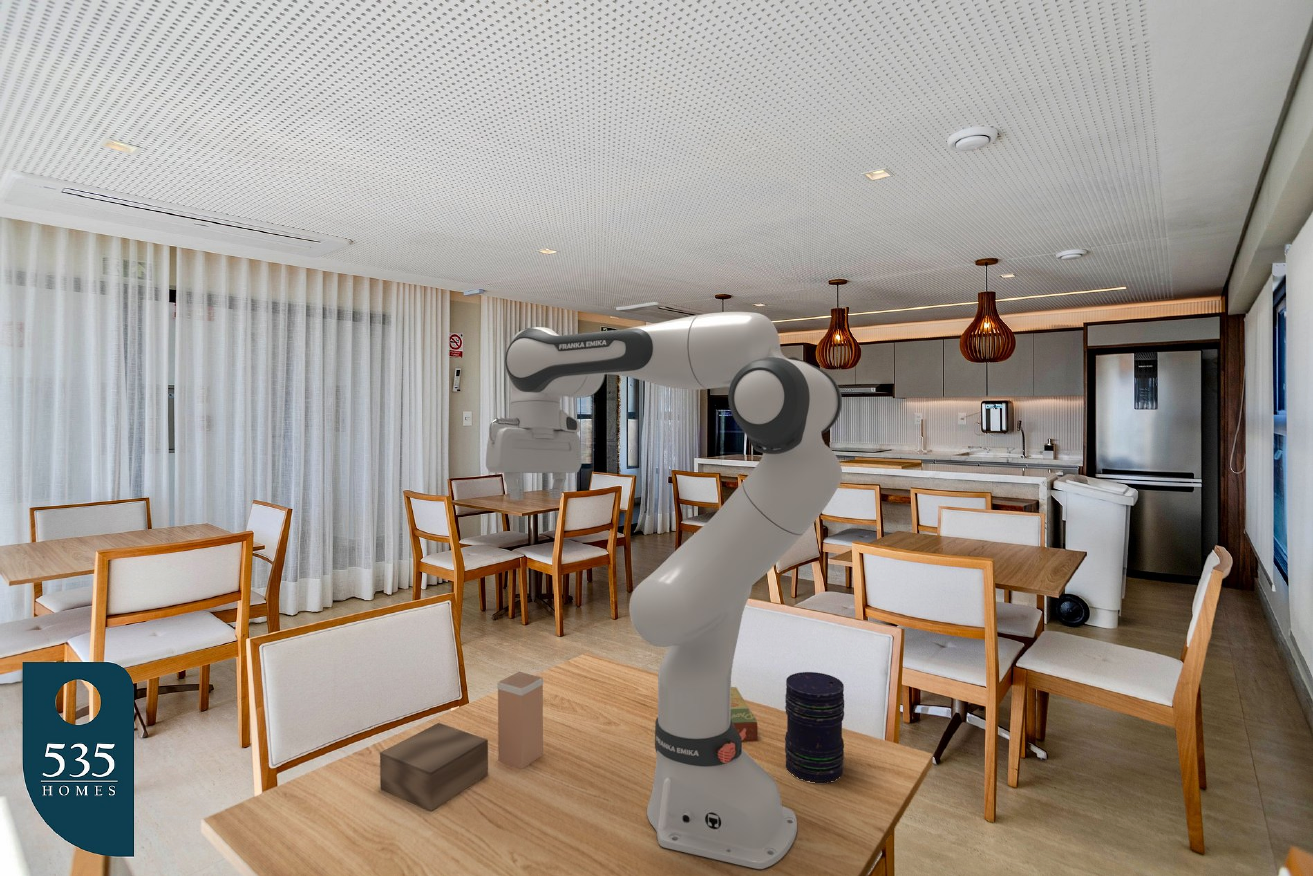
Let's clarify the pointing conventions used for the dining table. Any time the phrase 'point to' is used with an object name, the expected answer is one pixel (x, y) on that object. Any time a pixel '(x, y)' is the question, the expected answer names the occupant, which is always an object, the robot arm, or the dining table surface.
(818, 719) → the storage jar
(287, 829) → the dining table surface
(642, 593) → the robot arm
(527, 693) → the tall carton
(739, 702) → the carton
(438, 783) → the wooden block
